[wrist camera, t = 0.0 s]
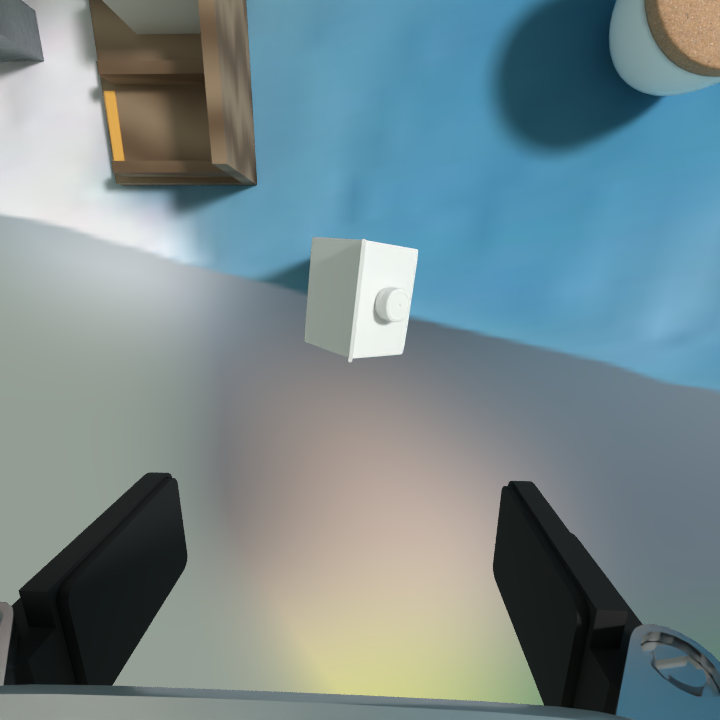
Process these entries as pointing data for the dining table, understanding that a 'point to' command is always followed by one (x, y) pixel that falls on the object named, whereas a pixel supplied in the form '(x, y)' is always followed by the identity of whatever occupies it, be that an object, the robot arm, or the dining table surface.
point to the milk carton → (359, 296)
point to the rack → (176, 90)
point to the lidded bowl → (666, 44)
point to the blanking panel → (19, 32)
